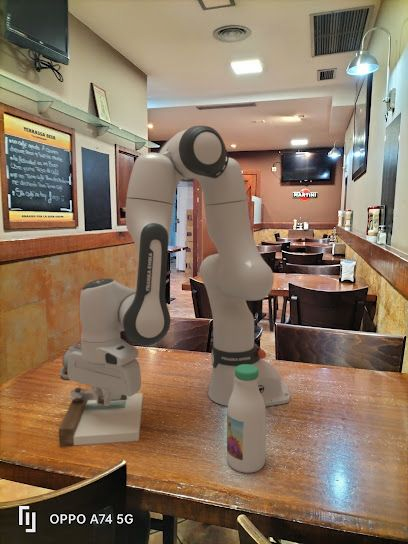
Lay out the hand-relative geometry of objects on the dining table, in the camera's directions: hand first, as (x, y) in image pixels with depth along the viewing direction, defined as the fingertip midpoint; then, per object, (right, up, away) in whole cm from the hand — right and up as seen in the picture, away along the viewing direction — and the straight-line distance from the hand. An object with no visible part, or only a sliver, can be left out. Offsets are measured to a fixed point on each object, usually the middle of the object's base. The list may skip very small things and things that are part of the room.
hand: (103, 404), depth 91 cm
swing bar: (-3, 0, +4) cm, 5 cm away
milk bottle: (+32, -7, -14) cm, 36 cm away
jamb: (-7, -5, +1) cm, 9 cm away
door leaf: (+1, -5, +2) cm, 5 cm away
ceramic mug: (-16, -1, +30) cm, 35 cm away
